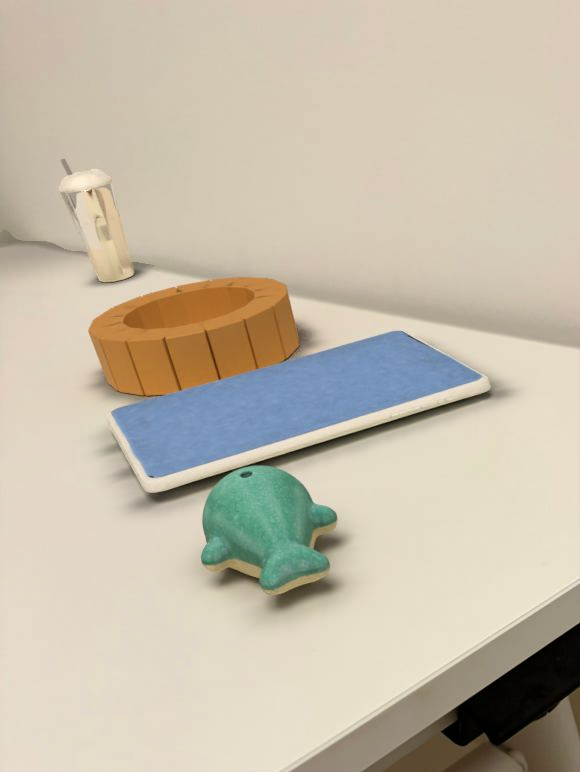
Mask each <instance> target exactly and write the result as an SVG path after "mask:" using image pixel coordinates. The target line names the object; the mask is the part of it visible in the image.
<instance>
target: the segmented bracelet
mask: <svg viewBox="0 0 580 772" xmlns="http://www.w3.org/2000/svg"><path fill="white" fill-rule="evenodd" d="M288 291H289V290H288V287H287V284H286V283H284V282H281V281H279V280H276V279H274V278H268V277H254V276H253V277H251V276H245V277H243V276H239V277H226V278H216V279H211V280H210V279H208V280H202V281H197V282H190V283H186V284H185V283H184V284H180V285H177V286H173V287H168V288H165V289H160V290H157V291H154V292H149V293H147V294H143V295H142V296H140V295H139V296H136V297H135V298H132V299H130V300H127V301H124V302H122V303H119V304H117V305H114V306H113V307H111V308H109V309H107V310H106V311H104V312H103V313H101V314H100V315H98V316H96V317H95V318H94V319H93V320H92V322H91V323H90V326H89V327H88V330H87V332H88V334H89V338H90V340H91V342H92V345H93V347H94V350H95V353H96V356H97V358H98V361H99V364H100V366H101V369H102V371H103V374H104V377H105V380H106V382H107V384H109V385H110V386H111V387H112V388H113V389H114V390H116V391H117V392H120V393H125V394H129V395H135V396H149V397H150V396H151V397H152V396H163V395H167V394H170V393H174V392H177V391H181V390H184V389H188V388H192V387H195V386H199V385H203V384H206V383H210V382H214V381H218V380H221V379H225V378H228V377H232V376H235V375H239V374H243V373H246V372H250V371H253V370H257V369H260V368H264V367H268V366H271V365H275V364H278V363H282V362H285V360H287V359H288V358H289V357H290V356H291V355H292V354H293V353H294V352H295V351H296V350H297V349H298V348H299V347H300V346H301V345H300V337H299V332H298V329H297V325H296V321H295V320H296V319H295V317H294V312H293V308H292V304H291V299H290V296H289V292H288Z"/></svg>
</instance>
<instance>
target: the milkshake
mask: <svg viewBox="0 0 580 772" xmlns="http://www.w3.org/2000/svg"><path fill="white" fill-rule="evenodd" d="M60 163H61V165H62V167H63V169H64V171H65V172H66V175H65V176H64V177H63V178H62V179H61V180H60V182H59V185H58V190H59V192H60V195H61V197H62V199H63V201H64V203H65V206H66V208H67V210H68V212H69V214H70V217H71V219H72V221H73V224H74V226H75V228H76V230H77V231H78V232H77V233H78V235H79V238H80V240H81V242H82V244H83V246H84V249H85V251H86V253H87V256H88V258H89V261H90V263H91V265H92V267H93V269H94V272H95V274H96V276H97V279H98V281H99V282H102V283H113V282H118V281H122V280H125V279H128V278H131V277H133V276H134V275H135V269H134V265H133V261H132V258H131V253H130V250H129V245H128V242H127V238H126V234H125V230H124V226H123V223H122V219H121V216H120V215H121V214H120V210H119V207H118V202H117V198H116V194H115V189H114V185H113V180H112V177H111V176H110V175H109V174H107V173H106V172H105V171H103V170H101V169H100V168H95V167H94V168H91V169H89V170H81V171H75V172H72V169H71V167H70V166H69V164H68V162H67V159H66V158H61V159H60Z"/></svg>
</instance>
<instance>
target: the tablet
mask: <svg viewBox="0 0 580 772" xmlns="http://www.w3.org/2000/svg"><path fill="white" fill-rule="evenodd" d="M491 389H492V385H491V382H490V379H489V377H488V376H487V375H485V374H483V373H482V372H479V370H476V369H474V368H473V367H470V365H467V364H465V363H463V362H461V360H459V359H456V358H455V357H453V356H452V355H449V354H447V353H446V352H444V351H443V350H440V349H438V348H436V347H434V346H433V345H431V344H429V343H428V342H426V341H424V340H422V339H421V338H419V337H417V336H415V335H413V334H412V333H410V332H408V331H405V330H392V331H388V332H384V333H381V334H377V335H374V336H369V337H367V338H366V337H365V338H363V339H360V340H357V341H353V342H349V343H346V344H342V345H339V346H334V347H332V348H328V349H324V350H321V351H318V352H314V353H311V354H308V355H303V356H300V357H297V358H293V359H292V358H291V359H289V360H286V361H282V362H280V363H278V364H275V365H271V366H268V367H264V368H260V369H257V370H253V371H250V372H246V373H243V374H239V375H235V376H232V377H228V378H225V379H221V380H218V381H214V382H210V383H206V384H203V385H199V386H195V387H192V388H188V389H184V390H181V391H177V392H174V393H170V394H167V395H158V396H156V397H152V398H149V399H144V400H141V401H137V402H133V403H130V404H127V405H124V406H123V405H122V406H119V407H117V408H115V409H113V410H111V411H110V412H109V413H108V414H107V415H106V422H107V425H108V427H109V429H110V431H111V433H112V435H113V436H114V439H115V440H116V442H117V443H118V446H119V447H120V449H121V452H122V453H123V455H124V458H125V459H126V461H127V462H128V464H129V466H130V467H131V469H132V471H133V473H134V474H135V476H136V478H137V479H138V482H139V483H140V485H141V488H142V490H144V491H145V492H146V493H151V494H156V493H161V492H165V491H169V490H171V489H175V488H178V487H180V486H183V485H187V484H190V483H193V482H196V481H200V480H203V479H206V478H209V477H212V476H216V475H219V474H223V473H225V472H229V471H234V470H237V469H240V468H243V467H247V466H249V465H252V464H256V463H258V462H261V461H265V460H268V459H271V458H275V457H279V456H281V455H285V454H289V453H290V452H294V451H297V450H301V449H305V448H307V447H310V446H313V445H317V444H320V443H324V442H327V441H330V440H334V439H337V438H340V437H343V436H346V435H349V434H353V433H357V432H360V431H363V430H367V429H370V428H372V427H376V426H379V425H382V424H385V423H388V422H391V421H395V420H398V419H402V418H404V417H408V416H411V415H414V414H417V413H421V412H424V411H428V410H431V409H434V408H437V407H440V406H444V405H448V404H451V403H454V402H457V401H460V400H463V399H468V398H471V397H474V396H478V395H481V394H483V393H486V392H489V391H490V390H491Z"/></svg>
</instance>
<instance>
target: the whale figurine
mask: <svg viewBox="0 0 580 772" xmlns="http://www.w3.org/2000/svg"><path fill="white" fill-rule="evenodd" d="M201 522H202V530H203V533H204V537H205V543H206V544H205V546H204V547H203V549H202V552H201V553H200V554H201V555H200V560H201V565H202V566H203V567H204V568H205V569H206V570H208V571H210V572H214V573H217V572H221V571H224V570H225V569H228V568H230V569H232V570H236V571H238V572H240V573H242V574H245V575H247V576H251V577H254V578H257V579H258V583H259V585H260V588H261V589H262V591H263V592H264V593H265V594H267V595H271V596H272V595H273V596H275V595H276V596H277V595H282V594H284V593H286V592H289V591H290V590H293V589H294V588H297V587H300V586H303V585H305V584H306V585H307V584H309V583H314V582H317V581H319V580H321V579H323V578H324V577H326V576H328V574H329V573H330V572H331V571H330V570H331V564H330V560H329V559H328V557H327V556H326V555H324V554H322V553H321V552H319V551H318V550H316V549H314V547H315V543H316V540H317V538H318V537H319V536H321V535H326V534H329V533H331V532H333V531H334V530H335V529H336V527H337V525H338V515H337V512H336V511H335V510H334V509H333V508H331V507H329V506H328V505H322V504H317V503H315V502H314V501H313V498H312V496H311V494H310V493H309V490H308V489H307V487H306V486H305V485H304V484H303V483H302V481H300V480H299V479H298V478H297V477H295V476H294V475H292V474H291V473H289V472H287V471H285V470H284V469H280V468H277V467H274V466H270V465H250V466H249V465H248V466H243V467H240V468H237V469H235V470H232V472H230V473H228V474H227V475H225V476H223V478H221V479H220V480H219V481H218V482H217V483H216V484H215V485H214V486H213V488H212V489H211V491H210V492H209V493H208V496H207V498H206V500H205V503H204V506H203V509H202V517H201Z"/></svg>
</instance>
